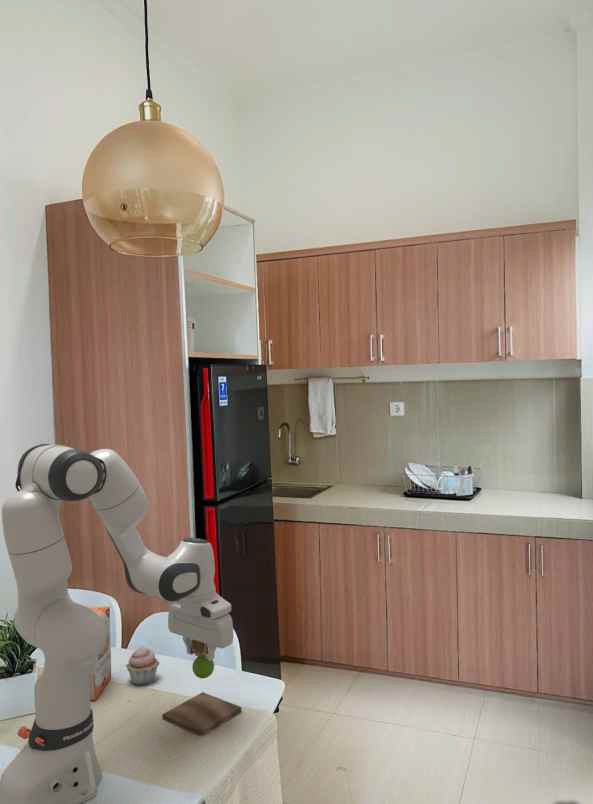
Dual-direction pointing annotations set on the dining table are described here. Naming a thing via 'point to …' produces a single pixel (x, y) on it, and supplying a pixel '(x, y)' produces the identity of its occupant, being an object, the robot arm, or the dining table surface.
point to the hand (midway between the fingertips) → (200, 656)
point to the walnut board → (201, 713)
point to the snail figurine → (201, 660)
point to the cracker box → (101, 659)
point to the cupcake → (142, 666)
